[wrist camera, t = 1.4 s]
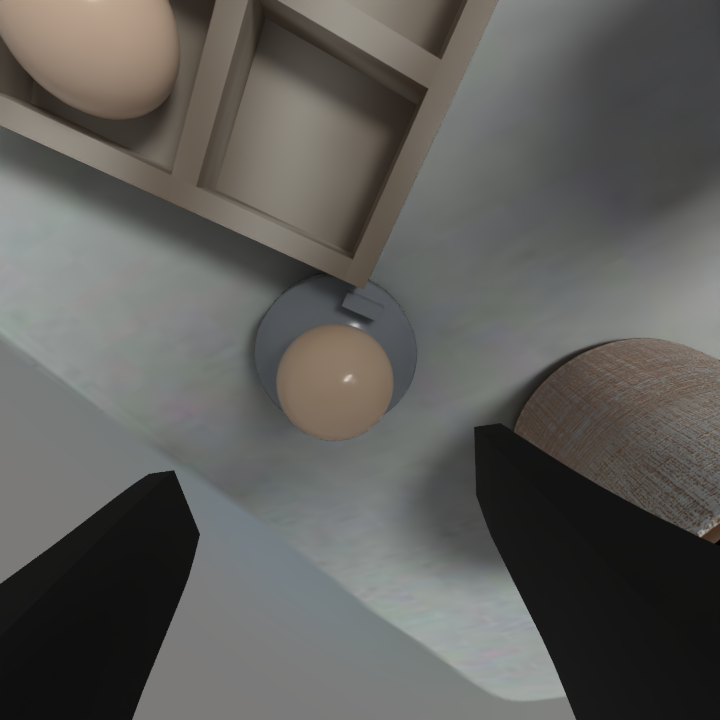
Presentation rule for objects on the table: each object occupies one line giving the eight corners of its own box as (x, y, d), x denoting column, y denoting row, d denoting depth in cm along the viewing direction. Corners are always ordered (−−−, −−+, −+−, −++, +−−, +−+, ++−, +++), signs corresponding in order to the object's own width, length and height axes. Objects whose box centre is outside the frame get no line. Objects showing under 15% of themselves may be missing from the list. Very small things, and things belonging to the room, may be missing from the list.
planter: (744, 426, 21) (1046, 593, 12) (575, 537, 23) (718, 742, 14) (646, 286, 17) (961, 370, 9) (463, 433, 20) (560, 614, 11)
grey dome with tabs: (437, 311, 17) (449, 324, 15) (371, 431, 20) (375, 456, 18) (293, 244, 16) (286, 250, 14) (241, 382, 18) (228, 403, 16)
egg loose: (404, 335, 16) (425, 379, 12) (361, 417, 18) (366, 481, 14) (307, 292, 15) (295, 325, 11) (270, 383, 17) (247, 440, 13)
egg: (218, 15, 12) (156, -78, 8) (181, 154, 14) (114, 133, 10) (75, -65, 11) (-72, -213, 7) (52, 92, 13) (-82, 41, 9)
